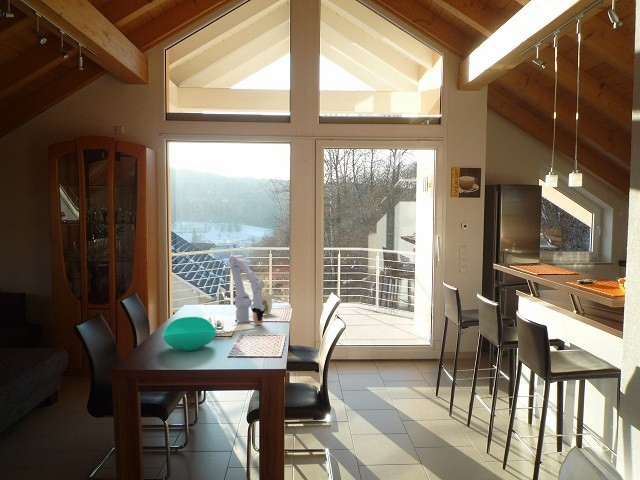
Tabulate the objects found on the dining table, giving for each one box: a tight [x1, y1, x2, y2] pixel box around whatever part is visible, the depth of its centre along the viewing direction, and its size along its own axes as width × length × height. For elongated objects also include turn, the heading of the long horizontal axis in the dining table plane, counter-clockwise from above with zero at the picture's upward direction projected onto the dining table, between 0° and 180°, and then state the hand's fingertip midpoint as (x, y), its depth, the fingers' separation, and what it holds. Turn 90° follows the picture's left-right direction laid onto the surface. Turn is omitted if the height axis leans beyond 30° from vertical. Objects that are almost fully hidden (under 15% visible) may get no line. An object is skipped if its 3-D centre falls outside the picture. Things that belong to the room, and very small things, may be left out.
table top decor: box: [162, 316, 217, 352], centre depth 263 cm, size 40×28×13 cm
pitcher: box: [249, 294, 276, 315], centre depth 348 cm, size 11×18×14 cm, turn 92°
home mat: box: [233, 323, 256, 333], centre depth 307 cm, size 14×18×1 cm
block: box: [252, 312, 264, 325], centre depth 317 cm, size 4×4×7 cm
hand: (258, 320), depth 317 cm, fingers closed on block, 4 cm apart
